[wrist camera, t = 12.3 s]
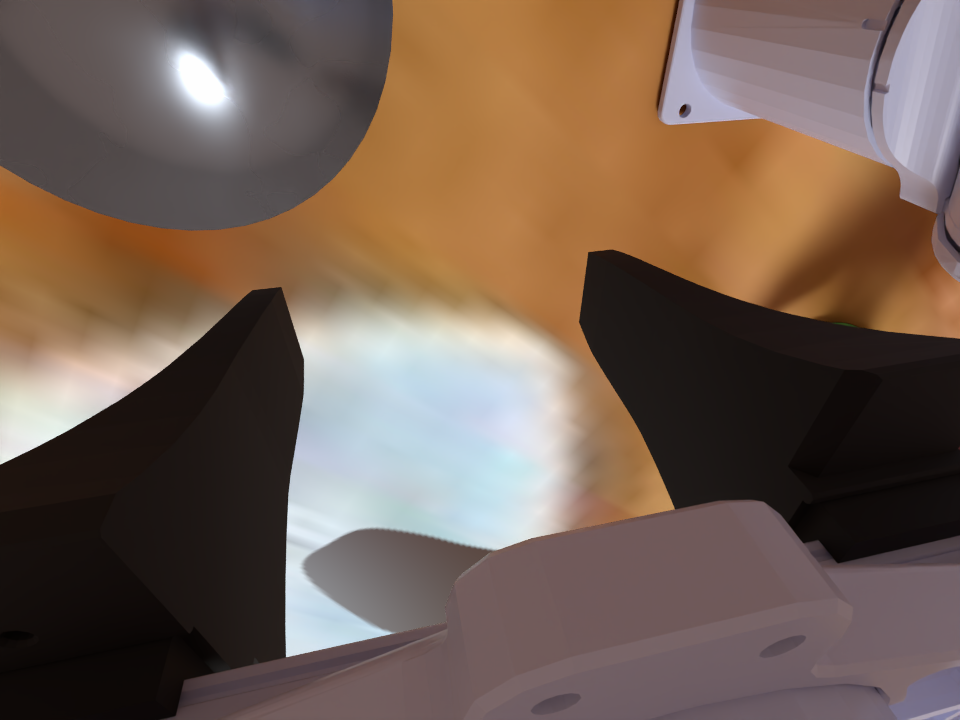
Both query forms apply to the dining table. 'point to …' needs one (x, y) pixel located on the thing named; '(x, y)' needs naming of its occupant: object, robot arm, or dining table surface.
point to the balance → (188, 102)
